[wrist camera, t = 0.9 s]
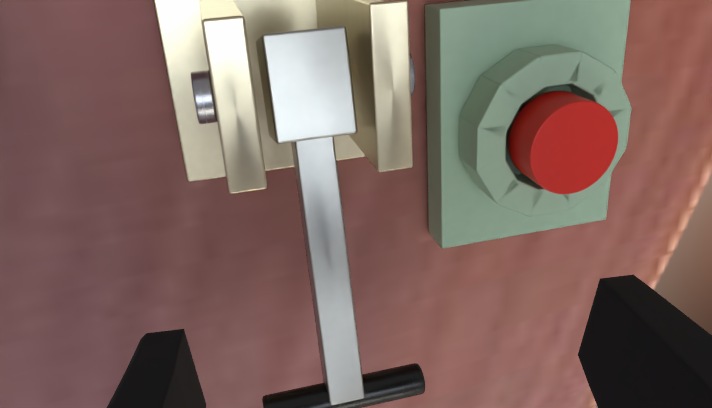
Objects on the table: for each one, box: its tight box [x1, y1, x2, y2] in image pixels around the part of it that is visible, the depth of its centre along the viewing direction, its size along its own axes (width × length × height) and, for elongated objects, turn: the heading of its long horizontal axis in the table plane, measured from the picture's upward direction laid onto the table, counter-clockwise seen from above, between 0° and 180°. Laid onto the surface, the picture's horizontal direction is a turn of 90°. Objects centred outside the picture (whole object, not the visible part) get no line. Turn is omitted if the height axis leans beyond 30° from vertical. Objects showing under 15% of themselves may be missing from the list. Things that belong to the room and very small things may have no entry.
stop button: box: [509, 90, 618, 194], centre depth 23 cm, size 4×4×2 cm
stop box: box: [425, 0, 631, 248], centre depth 25 cm, size 10×8×4 cm
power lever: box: [256, 26, 425, 408], centre depth 18 cm, size 11×5×2 cm, turn 4°
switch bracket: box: [153, 0, 415, 194], centre depth 19 cm, size 9×8×9 cm
